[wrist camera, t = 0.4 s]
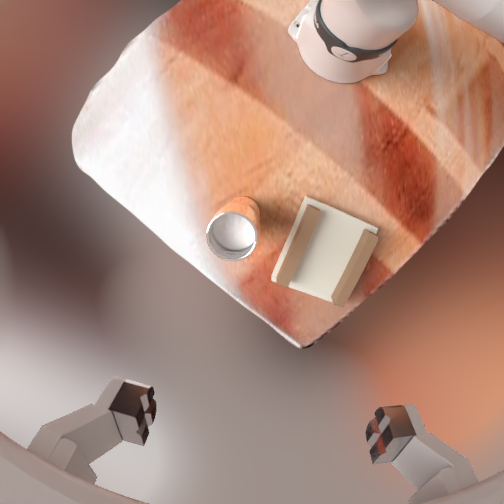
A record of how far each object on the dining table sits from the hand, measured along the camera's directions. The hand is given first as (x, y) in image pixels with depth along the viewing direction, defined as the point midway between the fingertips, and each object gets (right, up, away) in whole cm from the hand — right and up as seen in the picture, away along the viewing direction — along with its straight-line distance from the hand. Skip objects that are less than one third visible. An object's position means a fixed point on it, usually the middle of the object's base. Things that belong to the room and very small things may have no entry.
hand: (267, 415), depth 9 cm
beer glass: (-2, +13, +42) cm, 44 cm away
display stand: (+12, +6, +43) cm, 45 cm away
